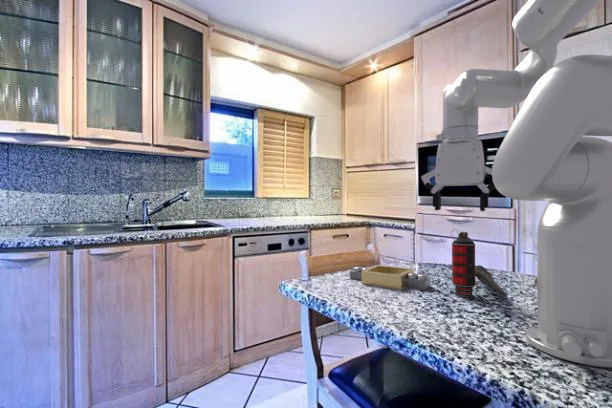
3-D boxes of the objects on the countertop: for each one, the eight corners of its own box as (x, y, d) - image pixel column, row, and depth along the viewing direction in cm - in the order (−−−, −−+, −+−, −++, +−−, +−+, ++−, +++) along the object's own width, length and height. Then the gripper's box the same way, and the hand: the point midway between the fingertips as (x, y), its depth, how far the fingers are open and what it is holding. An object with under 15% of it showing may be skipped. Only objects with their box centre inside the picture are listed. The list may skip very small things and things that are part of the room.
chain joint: (422, 293, 77) (422, 278, 77) (344, 282, 89) (344, 269, 89) (433, 284, 86) (433, 271, 86) (361, 275, 98) (361, 263, 98)
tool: (503, 303, 71) (513, 293, 70) (472, 279, 73) (482, 269, 72) (484, 280, 91) (492, 272, 90) (460, 262, 93) (468, 254, 92)
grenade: (443, 291, 79) (442, 229, 79) (460, 290, 80) (459, 228, 80) (462, 298, 73) (461, 231, 73) (480, 297, 74) (479, 230, 74)
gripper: (417, 138, 78) (417, 210, 79) (501, 130, 69) (501, 212, 69) (426, 143, 84) (425, 209, 85) (504, 135, 75) (503, 210, 75)
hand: (459, 210), depth 77 cm, fingers open, 9 cm apart
